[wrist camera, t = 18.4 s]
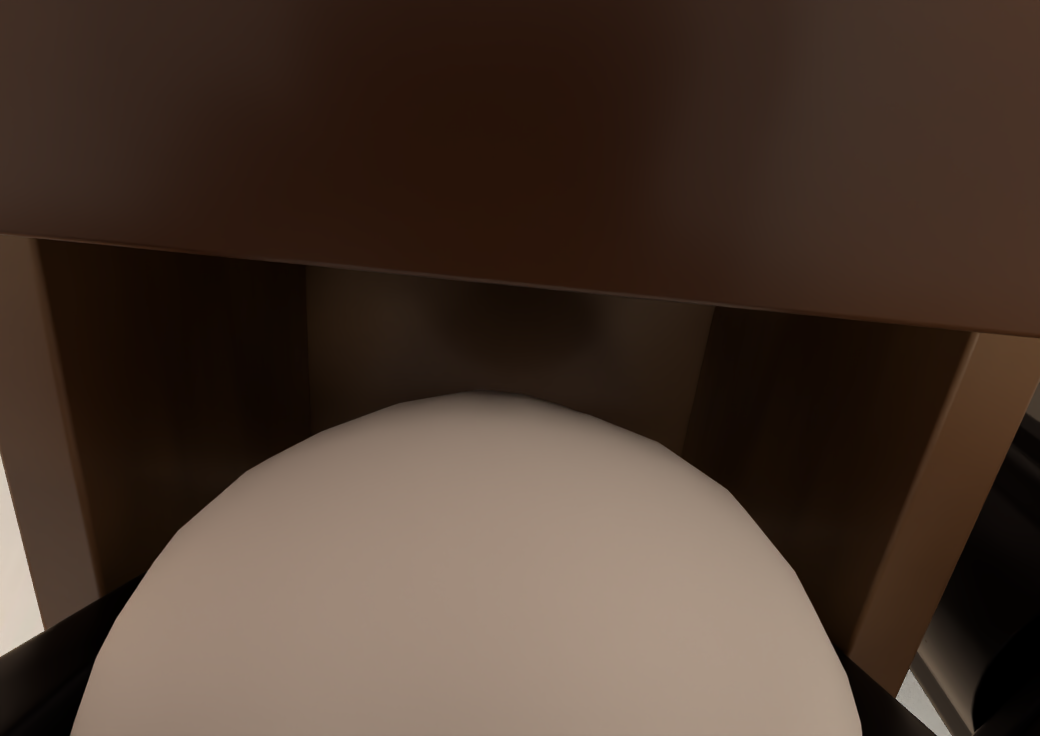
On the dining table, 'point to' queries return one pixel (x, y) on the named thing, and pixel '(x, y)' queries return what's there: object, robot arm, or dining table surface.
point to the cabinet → (551, 144)
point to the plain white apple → (470, 594)
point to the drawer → (497, 367)
